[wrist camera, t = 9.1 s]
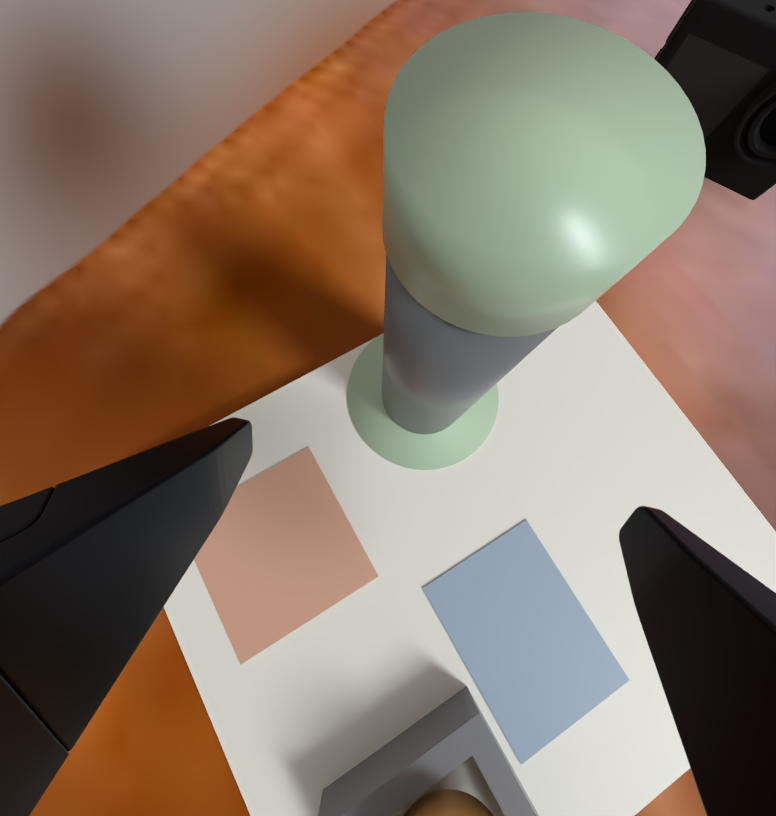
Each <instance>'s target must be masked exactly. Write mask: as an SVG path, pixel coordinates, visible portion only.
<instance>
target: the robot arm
mask: <svg viewBox="0 0 776 816" xmlns="http://www.w3.org/2000/svg"><path fill="white" fill-rule="evenodd" d="M252 451H253V442H252V424H251V422H250V421H249V420H245V419H240V418H235V417H232V418H229V419H226V420H224V421H221V422H218V423H216V424H213V425H211V426H208V427H205V428H203V429H200V430H198V431H195V432H193V433H190V434H187V435H185V436H182V437H180V438H177V439H174V440H172V441H169V442H167V443H164V444H161V445H159V446H156V447H154V448H151V449H149V450H146V451H143V452H141V453H138V454H136V455H133V456H130V457H128V458H125V459H123V460H120V461H117V462H115V463H112V464H110V465H107V466H104V467H102V468H99V469H97V470H94V471H91V472H89V473H86V474H84V475H81V476H78V477H76V478H73V479H71V480H68V481H66V482H63V483H60V484H58V485H56V487H55V488H54V487H50V488H47V489H45V490H42V491H39V492H37V493H34V494H32V495H29V496H27V497H24V498H21V499H18V500H16V501H13V502H10V503H8V504H5V505H2V506H0V816H29V815H30V814H31V812H32V811H33V809H34V808H35V806H36V805H37V803H38V801H39V800H40V798H41V797H42V795H43V794H44V792H45V791H46V789H47V787H48V786H49V784H50V783H51V781H52V780H53V778H54V777H55V775H56V773H57V772H58V770H59V769H60V767H61V766H62V764H63V763H64V761H65V759H66V758H67V756H68V755H69V752H68V751H70V750H71V749H72V748H73V746H74V745H75V743H76V742H77V740H78V739H79V737H80V736H81V734H82V733H83V731H84V729H85V728H86V726H87V725H88V723H89V722H90V720H91V719H92V717H93V715H94V714H95V712H96V711H97V709H98V708H99V706H100V705H101V703H102V701H103V700H104V698H105V697H106V695H107V694H108V692H109V691H110V689H111V687H112V686H113V684H114V683H115V681H116V680H117V678H118V677H119V675H120V673H121V672H122V670H123V669H124V667H125V666H126V664H127V663H128V661H129V659H130V658H131V656H132V655H133V653H134V652H135V650H136V649H137V647H138V646H139V644H140V642H141V641H142V639H143V638H144V636H145V635H146V633H147V632H148V630H149V628H150V627H151V625H152V624H153V622H154V621H155V619H156V618H157V616H158V614H159V613H160V611H161V610H162V608H163V607H164V605H165V604H166V602H167V600H168V599H169V597H170V596H171V594H172V593H173V591H174V590H175V588H176V586H177V585H178V583H179V582H180V580H181V579H182V577H183V576H184V574H185V572H186V571H187V569H188V568H189V566H190V565H191V563H192V562H193V560H194V559H195V557H196V555H197V554H198V552H199V551H200V549H201V548H202V546H203V545H204V543H205V541H206V540H207V538H208V537H209V535H210V534H211V532H212V531H213V529H214V527H215V526H216V524H217V523H218V521H219V519H220V518H221V516H222V514H223V513H224V511H225V509H226V507H227V505H228V503H229V501H230V499H231V497H232V495H233V493H234V491H235V489H236V487H237V485H238V483H239V481H240V479H241V477H242V475H243V473H244V471H245V469H246V467H247V465H248V463H249V461H250V458H251V456H252ZM619 542H620V546H621V550H622V555H623V559H624V563H625V567H626V571H627V576H628V580H629V584H630V588H631V592H632V596H633V600H634V604H635V607H636V611H637V614H638V617H639V620H640V623H641V626H642V629H643V631H644V634H645V637H646V640H647V643H648V646H649V649H650V652H651V655H652V658H653V660H654V663H655V666H656V669H657V672H658V675H659V678H660V681H661V684H662V687H663V690H664V692H665V695H666V698H667V701H668V704H669V707H670V710H671V713H672V716H673V719H674V721H675V724H676V727H677V730H678V733H679V736H680V739H681V742H682V745H683V748H684V751H685V753H686V756H687V759H688V762H689V765H690V768H691V771H692V774H693V777H694V780H695V783H696V785H697V788H698V791H699V794H700V797H701V800H702V803H703V806H704V809H705V812H706V814H707V816H776V593H775V592H774V591H772V590H771V589H770V588H768V587H767V586H765V585H764V584H763V583H761V582H760V581H759V580H757V579H756V578H754V577H753V576H752V575H750V574H749V573H748V572H746V571H745V570H743V569H742V568H741V567H739V566H738V565H737V564H735V563H734V562H732V561H731V560H730V559H728V558H727V557H726V556H724V555H723V554H722V553H720V552H719V551H717V550H716V549H715V548H713V547H712V546H711V545H709V544H708V543H706V542H705V541H704V540H702V539H701V538H700V537H698V536H697V535H695V534H694V533H693V532H691V531H690V530H689V529H687V528H686V527H684V526H683V525H682V524H680V523H679V522H678V521H676V520H675V519H673V518H672V517H671V516H669V515H668V514H667V513H665V512H664V511H662V510H660V509H657V508H652V507H647V506H639V507H638V508H636V509H635V510H634V512H633V513H632V514H631V516H630V517H629V518H628V519H627V521H626V522H625V523H624V525H623V526H622V527H621V529H620V532H619Z"/></svg>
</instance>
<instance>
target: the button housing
mask: <svg viewBox="0 0 776 816" xmlns="http://www.w3.org/2000/svg"><path fill="white" fill-rule="evenodd" d="M471 756H473V758H474V759H475V761H476V763H477V765H478V767H479V769H480V771H481V772H482V774H483V776H484V778H485V780H486V782H487V784H488V785H489V787H490V789H491V791H492V793H493V795H494V796H495V798H496V800H497V802H498V804H499V806H500V808H501V809H502V811H503V813H504V815H505V816H539V815H538V813H537V811H536V809H535V807H534V806H533V804H532V802H531V800H530V798H529V797H528V795H527V793H526V791H525V790H524V788H523V786H522V784H521V782H520V781H519V779H518V777H517V775H516V773H515V772H514V770H513V768H512V766H511V764H510V763H509V761H508V759H507V757H506V755H505V754H504V752H503V750H502V748H501V746H500V745H499V743H498V741H497V739H496V737H495V736H494V734H493V732H492V730H491V728H490V727H489V725H488V723H487V721H486V719H485V718H484V716H483V714H482V712H481V710H480V709H479V707H478V705H477V703H476V701H475V700H474V698H473V696H472V694H471V692H470V691H469V689H468V687H467V686H466V687H464V688H463V689H462V690H460V691H459V692H457V693H456V694H455V695H453V696H452V697H451V698H449V699H448V700H446V701H445V702H444V703H442V704H441V705H439V706H438V707H437V708H435V709H434V710H432V711H431V712H430V713H428V714H427V715H426V716H424V717H423V718H421V719H420V720H419V721H417V722H416V723H414V724H413V725H412V726H410V727H409V728H408V729H406V730H405V731H403V732H402V733H401V734H399V735H398V736H396V737H395V738H394V739H392V740H391V741H390V742H388V743H387V744H385V745H384V746H383V747H381V748H380V749H378V750H377V751H376V752H374V753H373V754H372V755H370V756H369V757H367V758H366V759H365V760H363V761H362V762H360V763H359V764H358V765H356V766H355V767H354V768H352V769H351V770H349V771H348V772H347V773H345V774H344V775H342V776H341V777H340V778H338V779H337V780H335V781H334V782H333V783H331V784H330V785H329V786H327V787H326V788H324V789H323V791H322V796H321V802H320V807H319V813H318V816H393V815H394V814H396V813H397V812H398V811H400V810H401V809H402V808H404V807H405V806H406V805H408V804H409V803H410V802H412V801H413V800H414V799H416V798H417V797H418V796H420V795H421V794H422V793H424V792H425V791H426V790H427V789H429V788H430V787H431V786H433V785H434V784H435V783H437V782H438V781H439V780H441V779H442V778H443V777H445V776H446V775H447V774H449V773H450V772H451V771H453V770H454V769H455V768H457V767H458V766H459V765H460V764H462V763H463V762H464V761H466V760H467V759H468V758H470V757H471Z"/></svg>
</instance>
